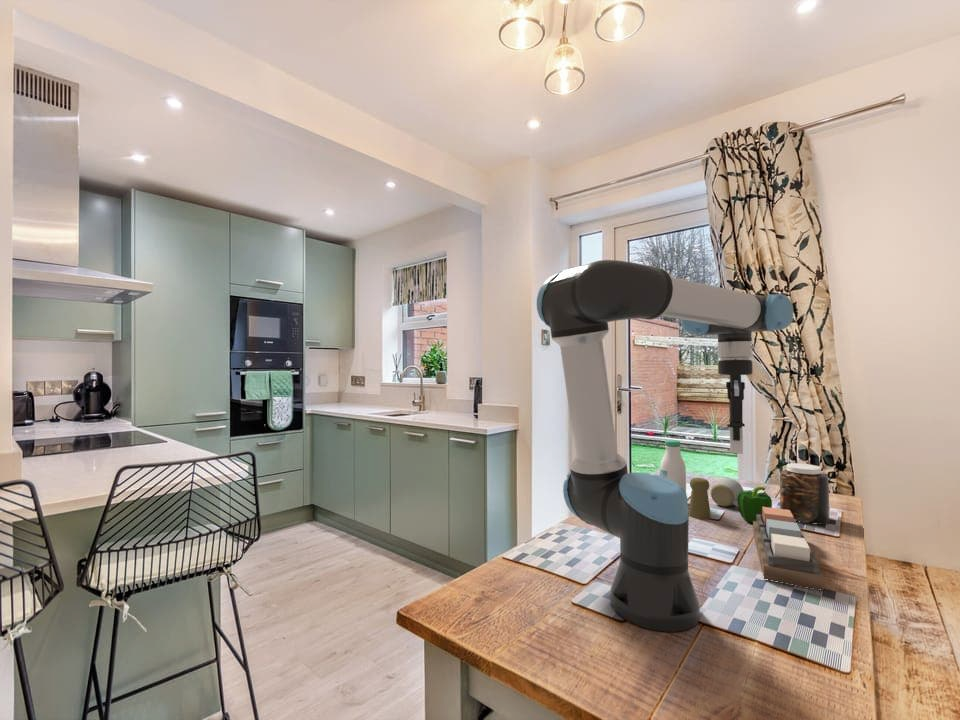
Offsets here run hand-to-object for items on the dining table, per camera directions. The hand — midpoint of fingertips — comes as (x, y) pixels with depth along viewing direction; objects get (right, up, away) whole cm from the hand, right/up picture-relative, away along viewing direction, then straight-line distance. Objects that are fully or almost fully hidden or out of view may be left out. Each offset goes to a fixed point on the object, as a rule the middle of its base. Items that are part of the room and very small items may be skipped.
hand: (736, 452), depth 113 cm
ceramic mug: (+15, -23, +30) cm, 41 cm away
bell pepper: (+14, -23, +15) cm, 31 cm away
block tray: (+6, -22, -9) cm, 25 cm away
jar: (+30, -23, +18) cm, 42 cm away
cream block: (+1, -18, -18) cm, 25 cm away
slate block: (+6, -18, -9) cm, 21 cm away
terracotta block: (+11, -18, 0) cm, 21 cm away
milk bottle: (-2, -23, +32) cm, 40 cm away
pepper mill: (0, -23, +20) cm, 30 cm away
